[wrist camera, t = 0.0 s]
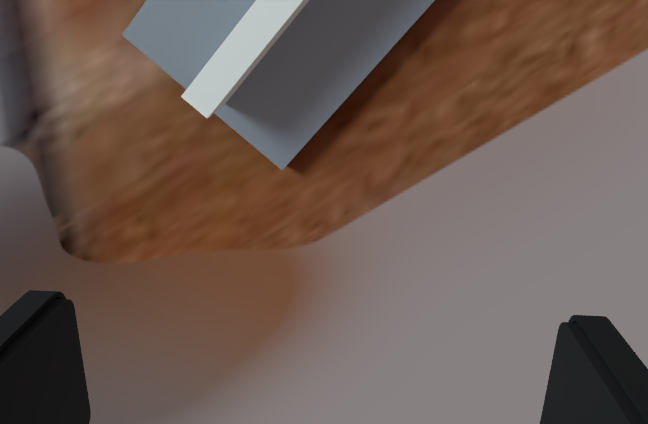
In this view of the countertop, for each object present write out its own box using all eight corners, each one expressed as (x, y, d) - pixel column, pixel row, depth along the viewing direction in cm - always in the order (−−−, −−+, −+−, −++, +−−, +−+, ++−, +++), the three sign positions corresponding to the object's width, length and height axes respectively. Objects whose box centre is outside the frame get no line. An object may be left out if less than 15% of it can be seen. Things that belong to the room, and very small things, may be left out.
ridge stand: (298, -203, 34) (285, -246, 28) (462, -35, 37) (483, -41, 31) (130, 33, 39) (89, 40, 33) (284, 164, 42) (272, 193, 36)
